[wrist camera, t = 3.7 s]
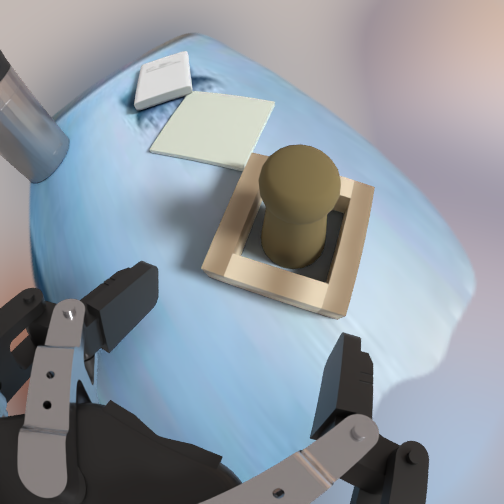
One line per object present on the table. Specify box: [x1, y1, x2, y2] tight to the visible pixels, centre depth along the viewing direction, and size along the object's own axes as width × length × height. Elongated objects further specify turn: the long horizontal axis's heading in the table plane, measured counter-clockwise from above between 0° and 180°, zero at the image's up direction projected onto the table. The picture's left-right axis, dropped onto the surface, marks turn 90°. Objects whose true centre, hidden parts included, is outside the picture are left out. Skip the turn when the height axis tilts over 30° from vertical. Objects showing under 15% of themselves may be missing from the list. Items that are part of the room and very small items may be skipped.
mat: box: [150, 91, 275, 171], centre depth 31 cm, size 12×11×1 cm
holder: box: [201, 153, 375, 320], centre depth 25 cm, size 12×12×3 cm
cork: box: [258, 145, 341, 269], centre depth 21 cm, size 6×6×11 cm
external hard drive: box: [134, 51, 193, 110], centre depth 35 cm, size 2×8×12 cm
